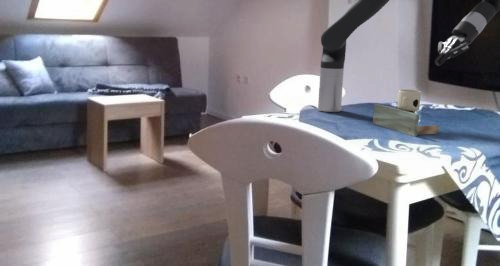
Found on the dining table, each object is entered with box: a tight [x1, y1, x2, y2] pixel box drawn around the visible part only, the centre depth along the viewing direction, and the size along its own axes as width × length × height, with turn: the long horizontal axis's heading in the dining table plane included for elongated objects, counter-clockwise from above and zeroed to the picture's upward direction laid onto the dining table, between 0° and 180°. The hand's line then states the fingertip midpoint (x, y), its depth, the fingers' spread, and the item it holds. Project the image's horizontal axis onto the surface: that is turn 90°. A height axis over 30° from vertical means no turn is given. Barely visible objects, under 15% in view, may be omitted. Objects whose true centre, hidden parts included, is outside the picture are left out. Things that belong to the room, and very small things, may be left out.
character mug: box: [396, 89, 422, 113], centre depth 162 cm, size 11×7×13 cm, turn 144°
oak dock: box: [372, 103, 440, 137], centre depth 163 cm, size 11×22×7 cm, turn 21°
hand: (437, 63), depth 166 cm, fingers closed
